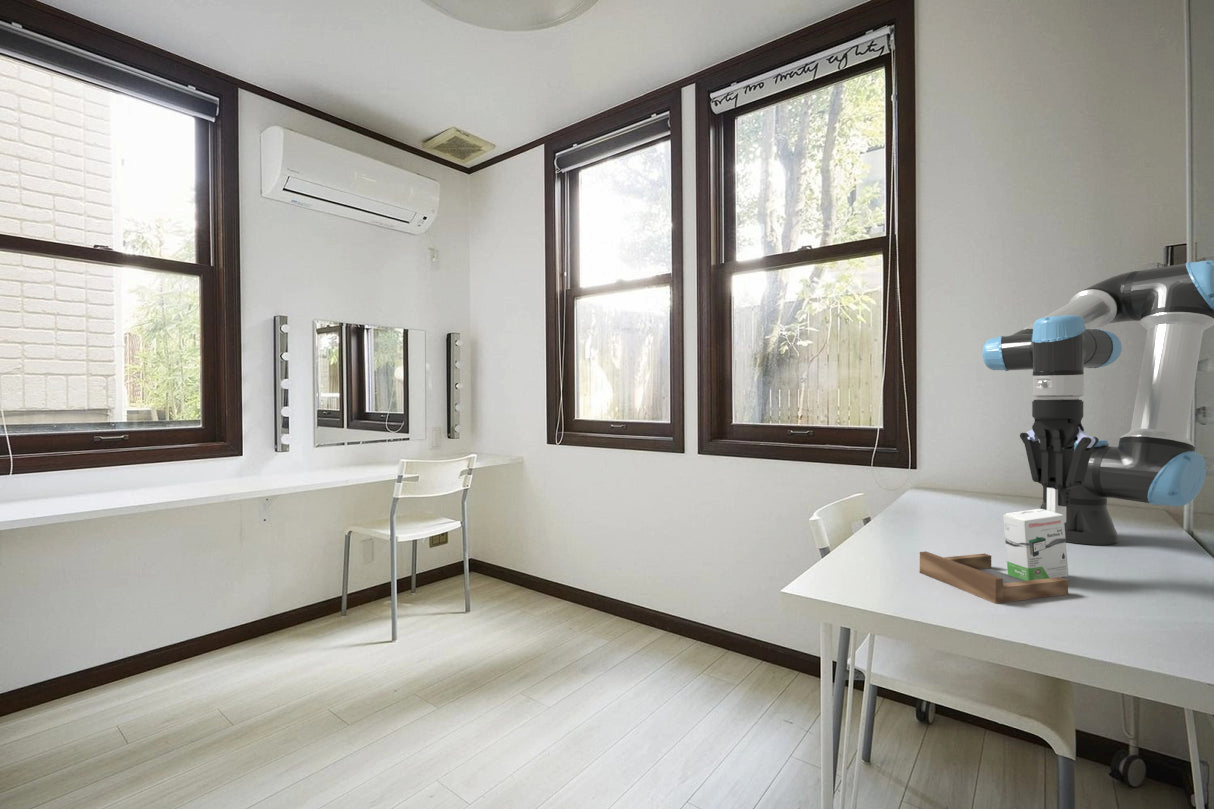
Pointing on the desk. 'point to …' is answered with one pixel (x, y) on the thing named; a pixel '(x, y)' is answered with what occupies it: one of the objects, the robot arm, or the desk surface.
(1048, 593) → the u rest
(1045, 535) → the ink box
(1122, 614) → the desk surface
